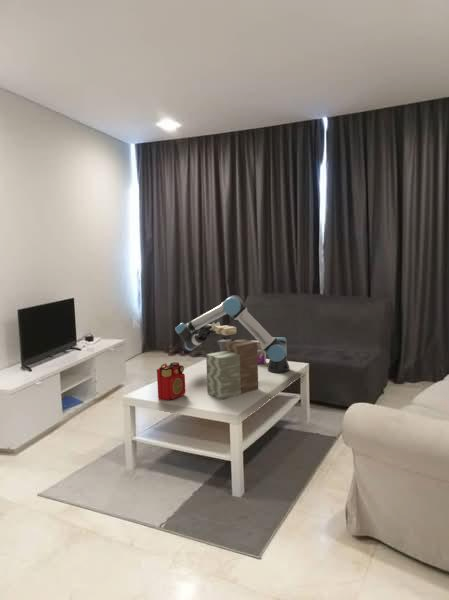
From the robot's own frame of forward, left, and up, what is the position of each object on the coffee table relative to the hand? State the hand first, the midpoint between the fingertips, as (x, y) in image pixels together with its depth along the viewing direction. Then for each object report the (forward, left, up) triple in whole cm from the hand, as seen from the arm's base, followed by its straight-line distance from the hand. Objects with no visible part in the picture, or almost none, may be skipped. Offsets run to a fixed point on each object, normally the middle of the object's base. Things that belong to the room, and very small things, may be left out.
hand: (217, 324), depth 289 cm
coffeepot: (+2, -61, -38) cm, 72 cm away
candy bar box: (-23, -51, -38) cm, 68 cm away
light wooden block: (-2, +2, -5) cm, 5 cm away
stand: (-11, +17, -38) cm, 43 cm away
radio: (+24, +27, -38) cm, 53 cm away
